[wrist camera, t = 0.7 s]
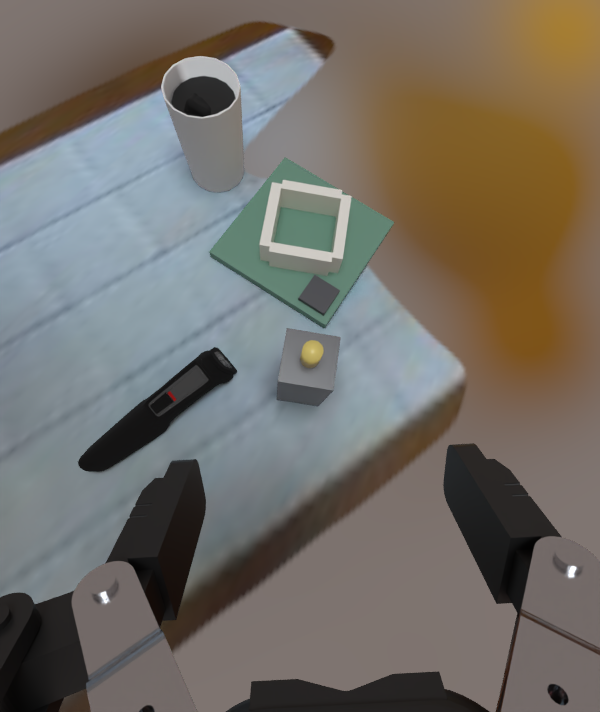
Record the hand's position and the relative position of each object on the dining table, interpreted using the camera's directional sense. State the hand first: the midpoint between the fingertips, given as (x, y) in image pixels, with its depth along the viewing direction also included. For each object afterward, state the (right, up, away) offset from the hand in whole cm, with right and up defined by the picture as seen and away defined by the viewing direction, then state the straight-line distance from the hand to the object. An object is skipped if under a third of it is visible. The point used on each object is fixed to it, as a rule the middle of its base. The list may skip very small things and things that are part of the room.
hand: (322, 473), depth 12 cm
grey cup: (-10, +24, +30) cm, 40 cm away
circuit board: (0, +16, +29) cm, 33 cm away
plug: (-1, +1, +25) cm, 25 cm away
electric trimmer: (-13, -1, +24) cm, 27 cm away
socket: (0, +16, +28) cm, 32 cm away
